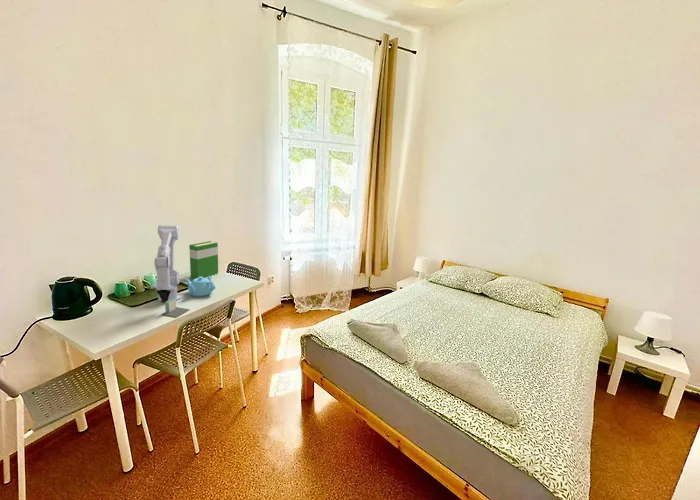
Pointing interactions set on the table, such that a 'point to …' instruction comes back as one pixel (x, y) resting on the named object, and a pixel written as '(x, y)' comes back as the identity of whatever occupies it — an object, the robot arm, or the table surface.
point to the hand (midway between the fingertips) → (165, 302)
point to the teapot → (200, 286)
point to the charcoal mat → (176, 312)
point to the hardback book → (203, 259)
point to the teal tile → (170, 305)
